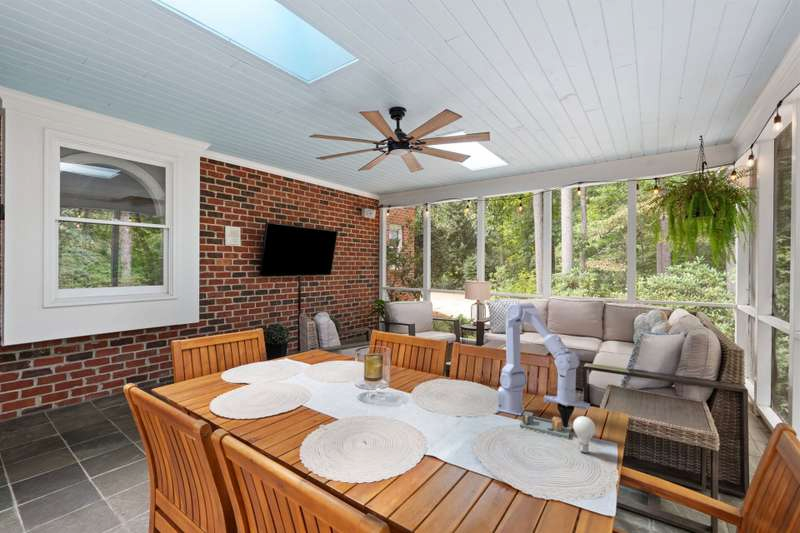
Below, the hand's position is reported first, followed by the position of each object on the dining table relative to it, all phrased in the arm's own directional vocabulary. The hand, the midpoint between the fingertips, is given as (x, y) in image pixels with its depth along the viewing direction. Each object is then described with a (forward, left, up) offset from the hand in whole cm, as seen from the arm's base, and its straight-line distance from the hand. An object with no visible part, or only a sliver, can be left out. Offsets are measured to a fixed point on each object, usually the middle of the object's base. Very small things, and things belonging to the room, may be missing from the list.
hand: (565, 426), depth 127 cm
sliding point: (-3, -1, -1) cm, 3 cm away
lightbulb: (+6, -11, -3) cm, 13 cm away
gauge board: (-7, +1, -3) cm, 7 cm away
